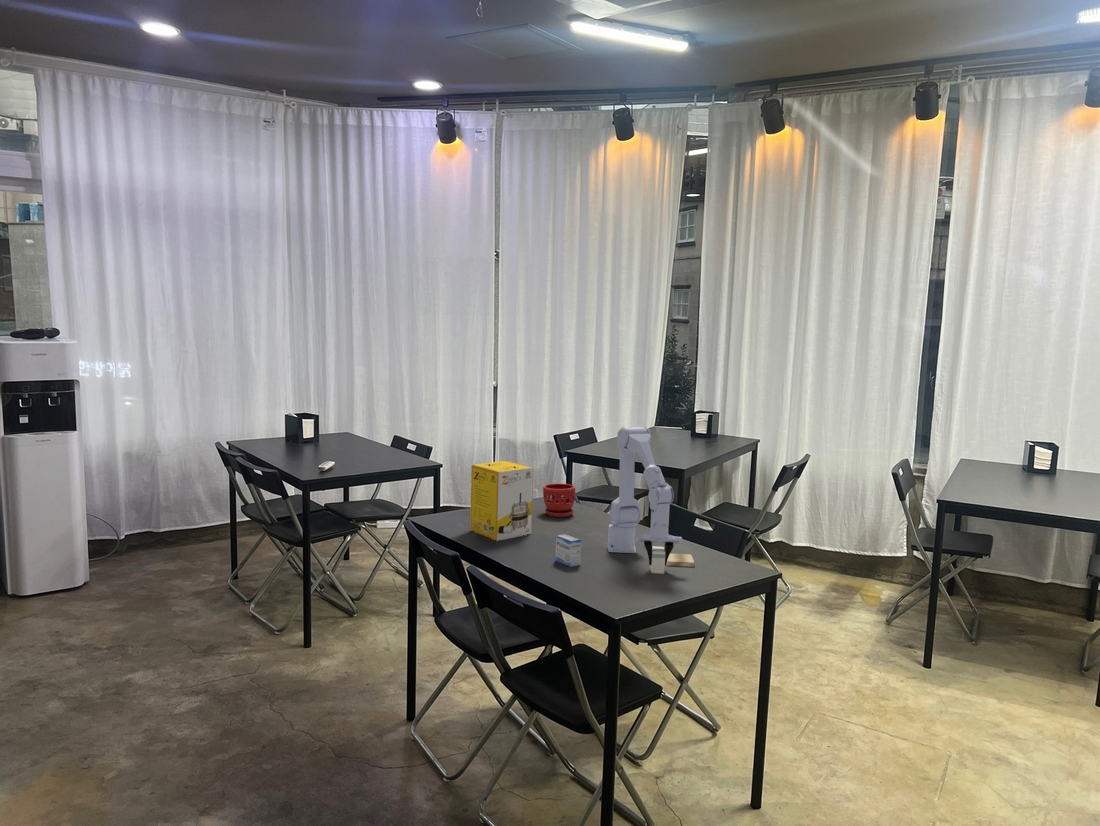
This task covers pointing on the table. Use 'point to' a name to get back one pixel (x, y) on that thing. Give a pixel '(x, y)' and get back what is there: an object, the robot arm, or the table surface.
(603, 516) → the table surface
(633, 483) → the robot arm
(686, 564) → the oak block
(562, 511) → the plant pot
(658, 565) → the carton block
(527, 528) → the packaging box
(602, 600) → the table surface
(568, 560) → the medicine box
